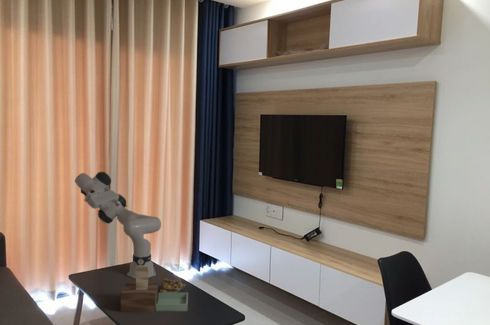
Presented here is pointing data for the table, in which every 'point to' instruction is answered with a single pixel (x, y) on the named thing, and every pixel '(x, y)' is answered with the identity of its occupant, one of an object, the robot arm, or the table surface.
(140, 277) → the birch block
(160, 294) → the bin
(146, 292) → the walnut ledge
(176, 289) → the mineral formation
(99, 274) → the table surface
